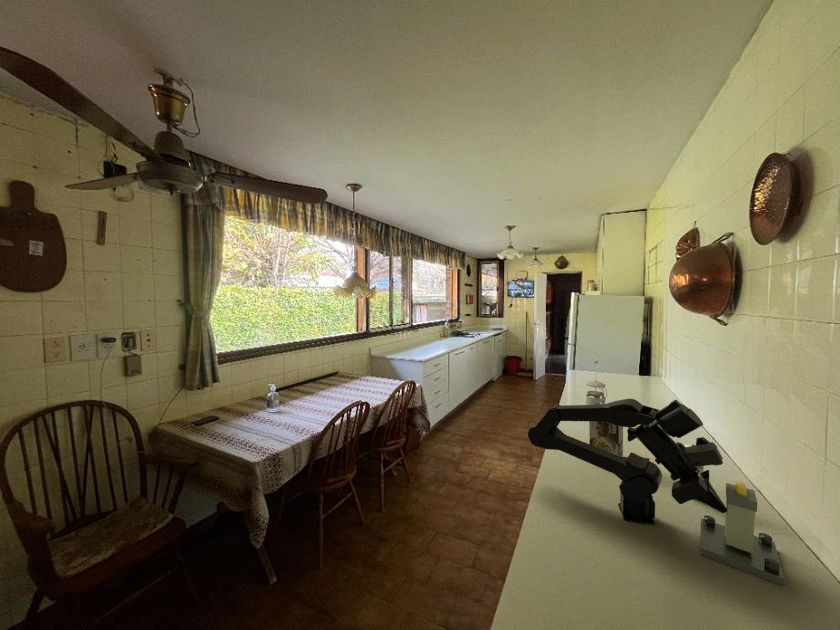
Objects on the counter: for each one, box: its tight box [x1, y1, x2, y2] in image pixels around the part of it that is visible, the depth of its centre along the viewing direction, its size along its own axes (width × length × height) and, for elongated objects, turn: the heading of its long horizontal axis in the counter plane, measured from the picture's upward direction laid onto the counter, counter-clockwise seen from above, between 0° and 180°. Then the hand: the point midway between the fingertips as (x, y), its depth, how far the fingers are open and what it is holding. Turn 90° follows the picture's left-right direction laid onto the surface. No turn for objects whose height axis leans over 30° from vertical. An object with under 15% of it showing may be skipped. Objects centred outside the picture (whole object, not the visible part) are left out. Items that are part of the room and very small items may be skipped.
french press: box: [585, 360, 608, 405], centre depth 153 cm, size 10×12×25 cm
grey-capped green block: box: [724, 481, 758, 554], centre depth 70 cm, size 4×5×12 cm
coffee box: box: [588, 421, 624, 457], centre depth 111 cm, size 9×6×16 cm
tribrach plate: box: [700, 514, 785, 587], centre depth 70 cm, size 12×12×3 cm
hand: (725, 511), depth 71 cm, fingers closed, pressing on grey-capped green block
